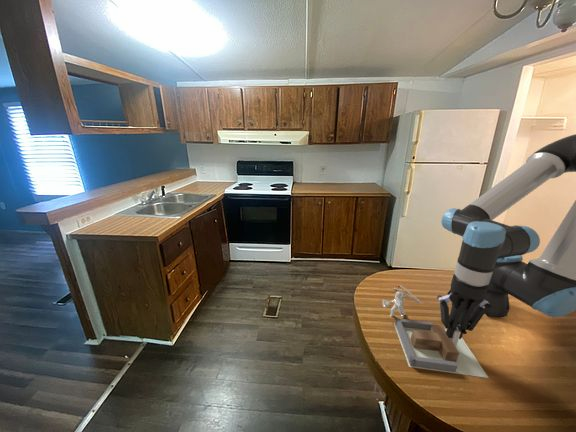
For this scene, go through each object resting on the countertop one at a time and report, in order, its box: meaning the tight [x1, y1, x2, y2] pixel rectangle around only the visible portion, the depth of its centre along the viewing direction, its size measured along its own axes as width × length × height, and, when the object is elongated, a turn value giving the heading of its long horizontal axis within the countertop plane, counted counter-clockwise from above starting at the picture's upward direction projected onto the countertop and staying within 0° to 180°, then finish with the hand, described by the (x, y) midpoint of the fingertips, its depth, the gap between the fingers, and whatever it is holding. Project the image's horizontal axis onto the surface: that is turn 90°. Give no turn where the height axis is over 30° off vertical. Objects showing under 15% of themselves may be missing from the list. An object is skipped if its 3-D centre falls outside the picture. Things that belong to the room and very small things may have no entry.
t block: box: [411, 323, 459, 362], centre depth 70 cm, size 10×10×4 cm
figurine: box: [381, 290, 407, 317], centre depth 80 cm, size 5×9×12 cm, turn 109°
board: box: [393, 318, 489, 379], centre depth 70 cm, size 20×16×3 cm
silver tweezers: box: [392, 285, 423, 304], centre depth 92 cm, size 18×5×2 cm, turn 27°
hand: (450, 345), depth 69 cm, fingers closed
